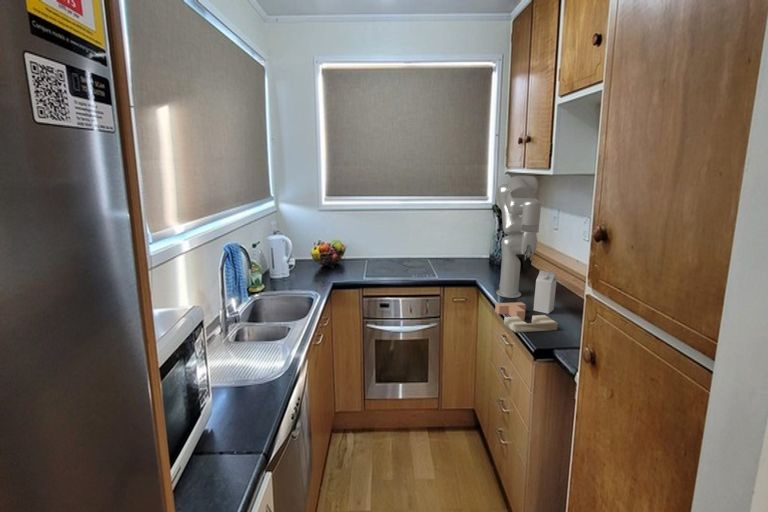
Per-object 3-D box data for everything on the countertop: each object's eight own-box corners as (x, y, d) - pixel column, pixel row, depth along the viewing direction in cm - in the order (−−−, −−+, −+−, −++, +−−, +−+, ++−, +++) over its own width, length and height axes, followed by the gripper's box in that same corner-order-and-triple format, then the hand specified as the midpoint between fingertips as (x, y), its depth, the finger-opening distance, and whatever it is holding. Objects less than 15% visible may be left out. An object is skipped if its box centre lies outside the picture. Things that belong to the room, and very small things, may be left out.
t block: (495, 311, 204) (495, 303, 203) (520, 310, 206) (521, 302, 206) (506, 320, 192) (507, 311, 192) (533, 319, 195) (534, 310, 194)
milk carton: (538, 307, 211) (542, 269, 207) (553, 310, 207) (557, 271, 203) (533, 310, 206) (536, 271, 202) (548, 314, 201) (552, 274, 197)
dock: (504, 323, 189) (504, 317, 188) (544, 321, 192) (544, 314, 191) (514, 332, 179) (515, 325, 178) (557, 329, 182) (557, 323, 182)
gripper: (520, 225, 202) (517, 260, 206) (521, 231, 186) (518, 270, 190) (537, 226, 200) (533, 262, 204) (540, 232, 184) (536, 271, 188)
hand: (526, 265), depth 197 cm, fingers open, 9 cm apart
